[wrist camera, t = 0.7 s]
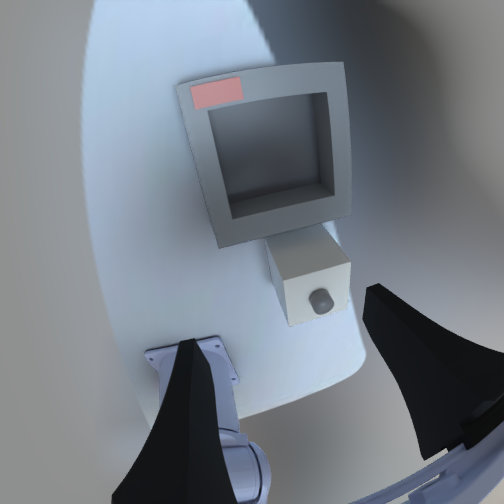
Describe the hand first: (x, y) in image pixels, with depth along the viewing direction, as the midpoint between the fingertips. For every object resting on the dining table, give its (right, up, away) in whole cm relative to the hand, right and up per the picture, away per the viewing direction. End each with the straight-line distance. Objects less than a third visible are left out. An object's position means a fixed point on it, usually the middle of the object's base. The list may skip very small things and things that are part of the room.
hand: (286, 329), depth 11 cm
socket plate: (0, +10, +6) cm, 11 cm away
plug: (+2, +3, +11) cm, 12 cm away
